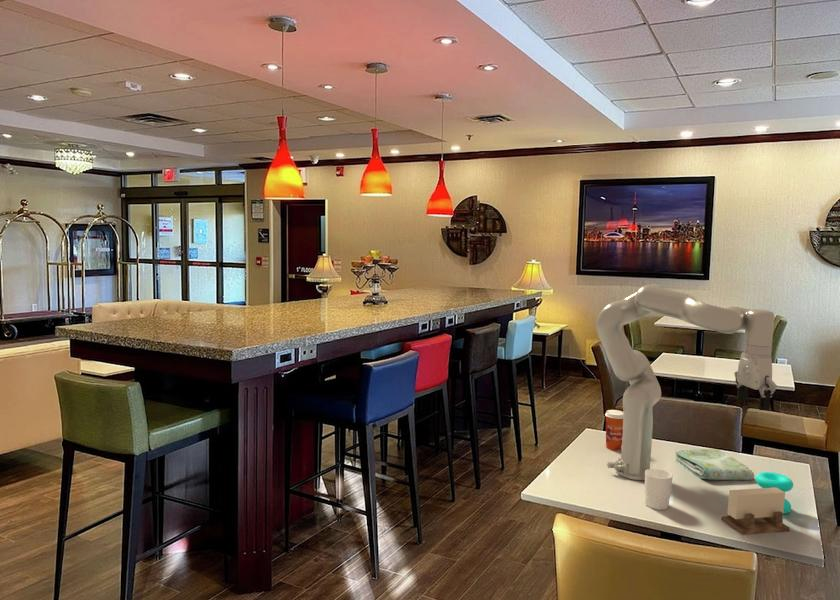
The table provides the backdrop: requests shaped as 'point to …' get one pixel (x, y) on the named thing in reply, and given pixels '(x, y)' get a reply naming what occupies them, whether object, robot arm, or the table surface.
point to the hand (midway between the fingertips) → (752, 405)
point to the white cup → (657, 488)
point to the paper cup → (614, 429)
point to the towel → (713, 465)
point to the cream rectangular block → (755, 502)
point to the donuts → (775, 484)
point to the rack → (757, 523)
